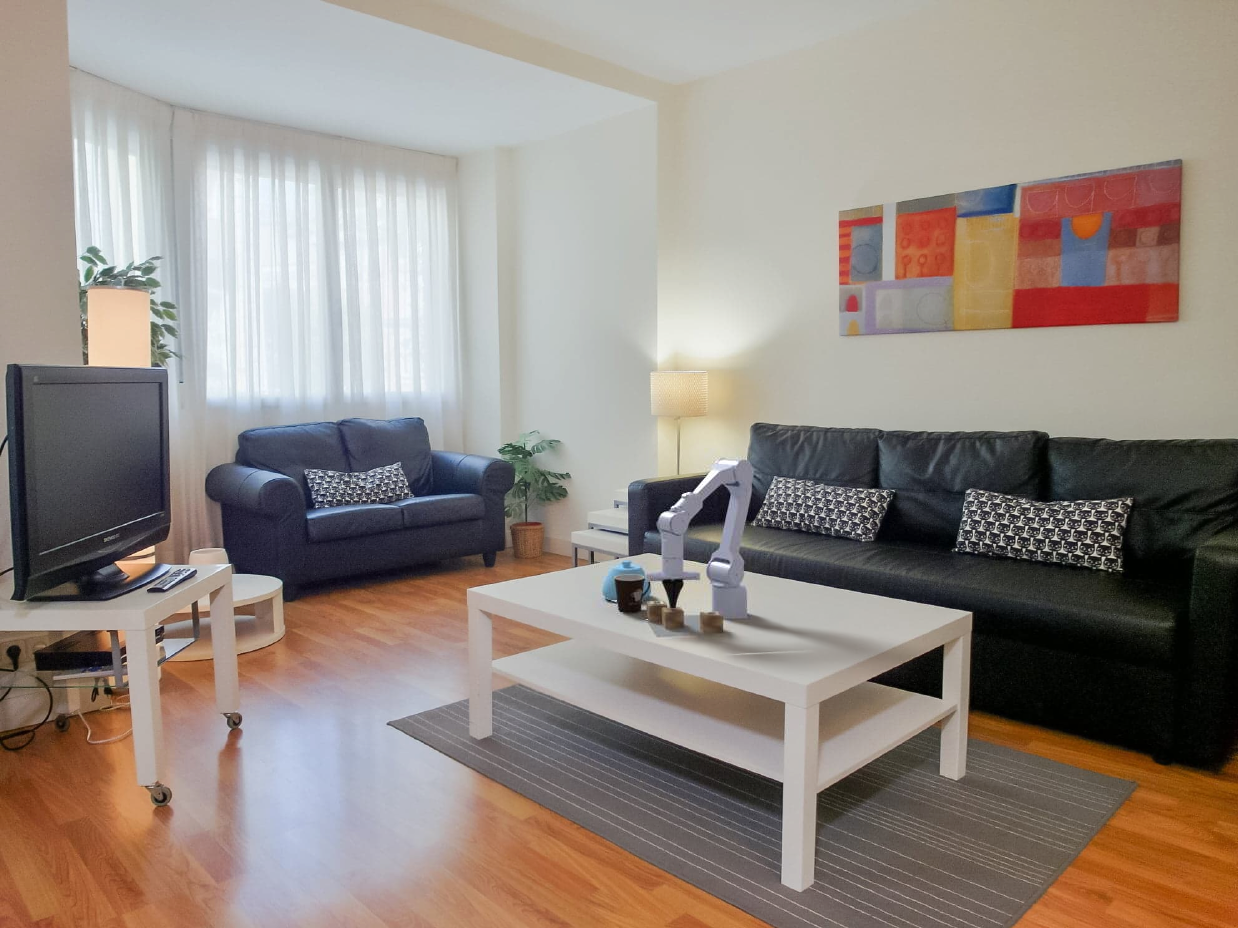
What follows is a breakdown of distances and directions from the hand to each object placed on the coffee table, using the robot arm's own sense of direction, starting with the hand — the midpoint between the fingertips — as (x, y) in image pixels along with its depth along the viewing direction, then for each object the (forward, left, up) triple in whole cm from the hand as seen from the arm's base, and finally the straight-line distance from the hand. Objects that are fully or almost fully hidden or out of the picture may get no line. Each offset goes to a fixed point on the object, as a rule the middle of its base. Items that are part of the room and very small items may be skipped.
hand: (672, 607), depth 236 cm
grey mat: (-3, -1, -6) cm, 6 cm away
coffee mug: (+7, -19, -6) cm, 21 cm away
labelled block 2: (-9, +6, -5) cm, 12 cm away
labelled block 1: (+3, -8, -5) cm, 9 cm away
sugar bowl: (+7, -36, -6) cm, 37 cm away
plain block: (0, 0, -5) cm, 5 cm away
